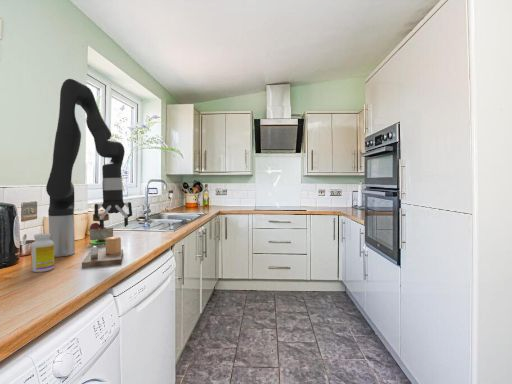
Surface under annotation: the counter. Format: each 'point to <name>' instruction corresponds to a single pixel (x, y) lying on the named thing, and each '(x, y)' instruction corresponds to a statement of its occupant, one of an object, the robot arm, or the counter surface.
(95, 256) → the post
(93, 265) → the board
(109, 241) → the tan wooden cube
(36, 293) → the counter surface
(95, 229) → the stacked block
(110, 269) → the counter surface
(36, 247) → the supplement bottle
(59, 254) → the robot arm
